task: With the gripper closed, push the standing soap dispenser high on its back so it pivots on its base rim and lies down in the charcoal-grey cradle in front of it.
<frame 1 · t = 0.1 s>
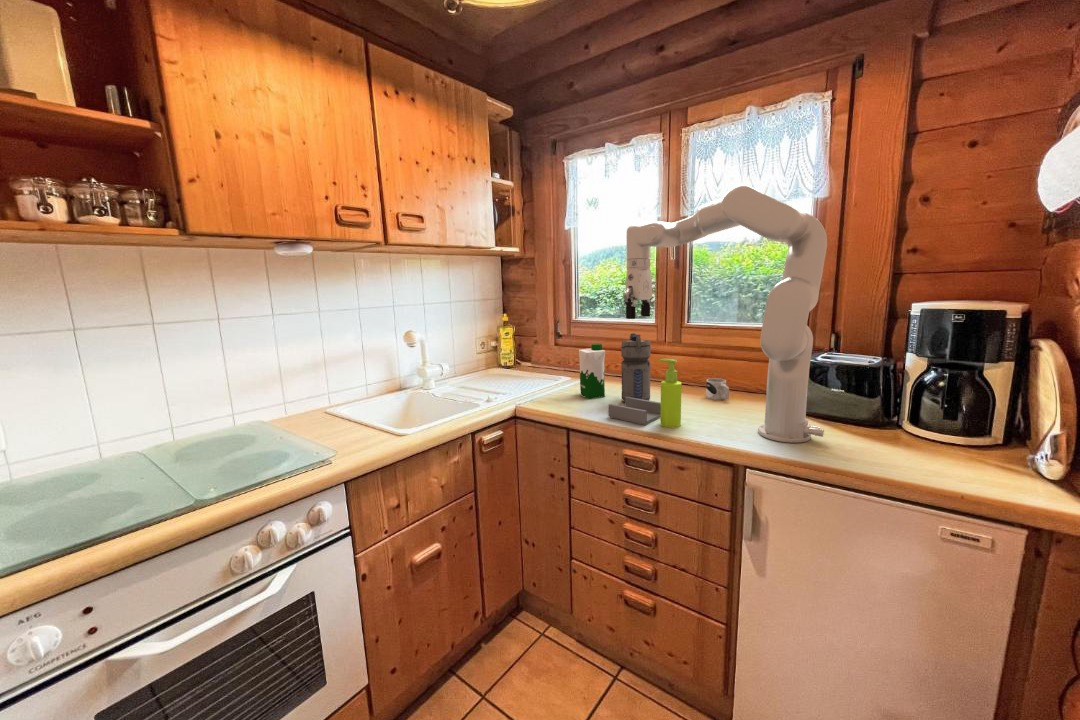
hand: (638, 317, 141), 31 cm above the countertop, tool pointing down, fingers open, 9 cm apart
beverage bottle: (635, 401, 156), on the countertop
soap dispenser: (668, 424, 130), on the countertop
cradle: (635, 417, 137), on the countertop
mug: (718, 399, 154), on the countertop
soya milk: (592, 396, 165), on the countertop
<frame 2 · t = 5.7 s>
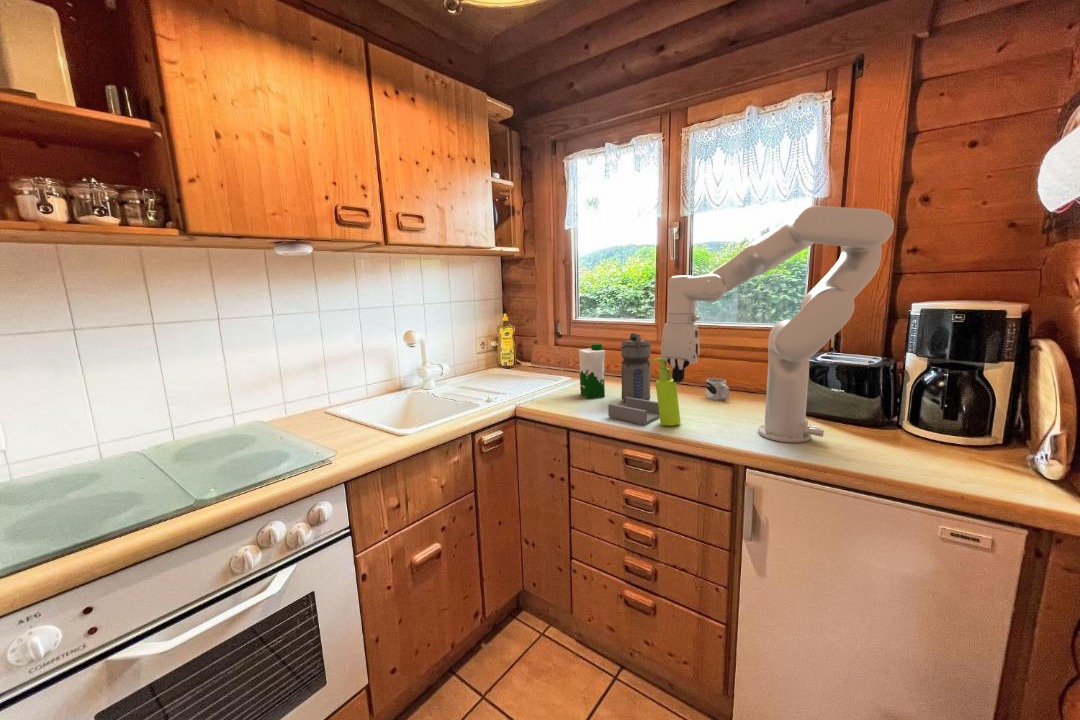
hand: (678, 381, 125), 14 cm above the countertop, tool pointing down, fingers closed
soap dispenser: (668, 423, 130), on the countertop, touching gripper
everything else where it was.
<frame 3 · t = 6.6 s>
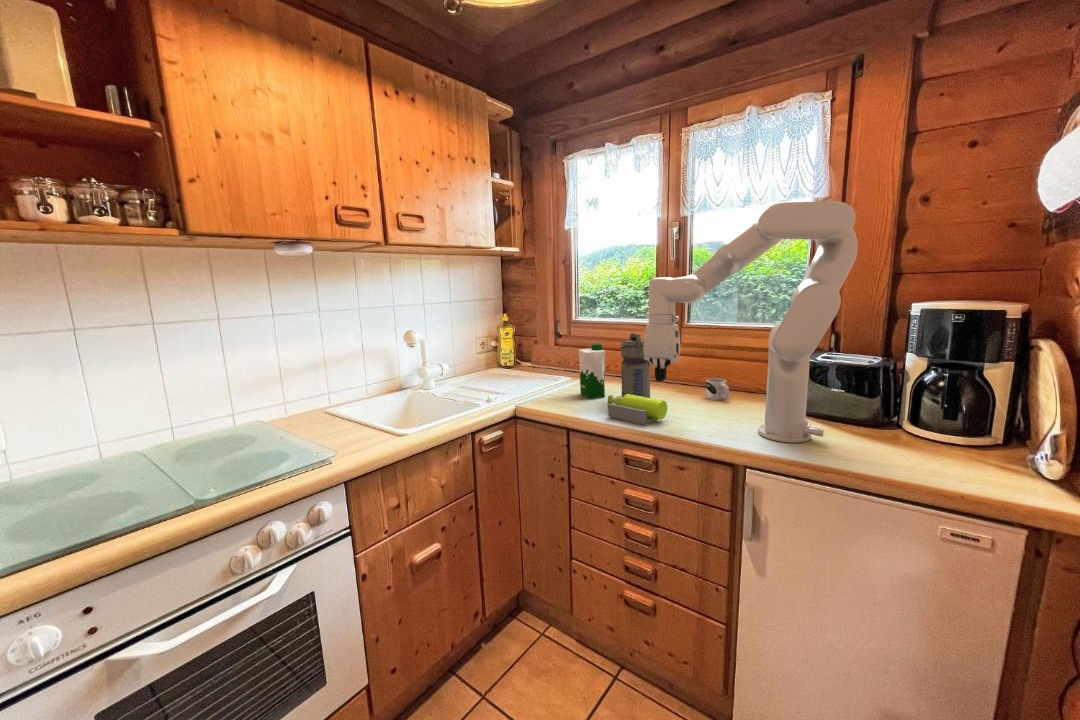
hand: (660, 380, 129), 13 cm above the countertop, tool pointing down, fingers closed
soap dispenser: (663, 411, 130), point 3 cm above the countertop, touching cradle
everything else where it was.
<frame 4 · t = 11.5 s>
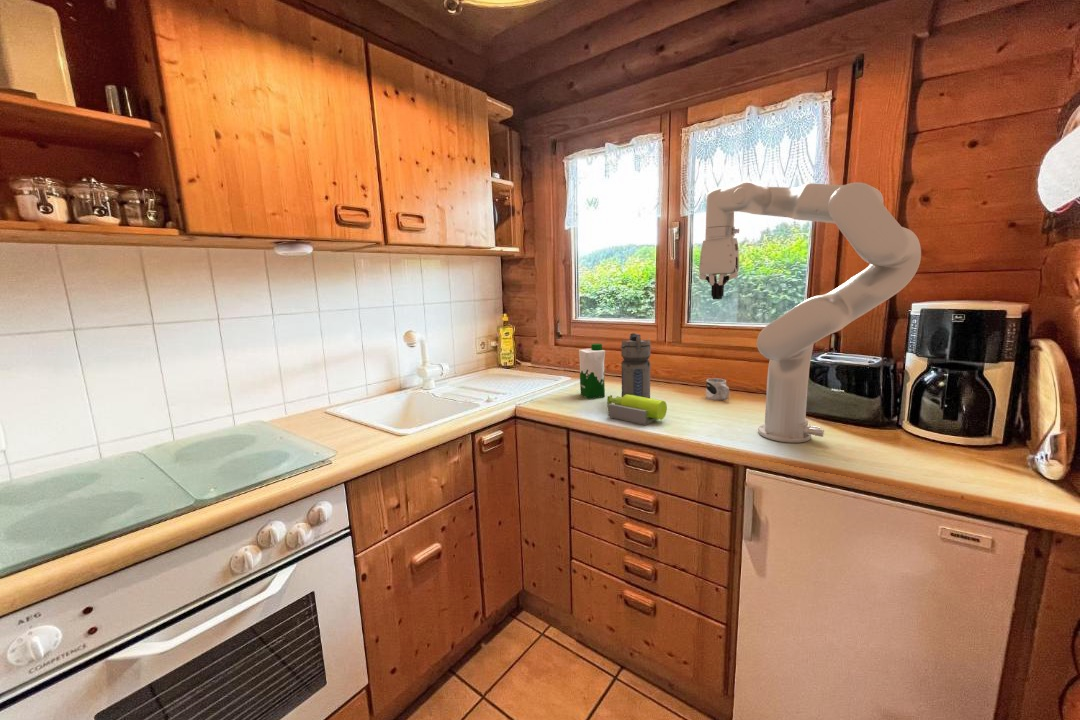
hand: (717, 298, 125), 37 cm above the countertop, tool pointing down, fingers closed
nothing on the countertop moved.
at the end: soap dispenser tilted 90°; soap dispenser touching cradle, countertop; soap dispenser inside the target area on the cradle (2.5 cm from its centre), point 3.4 cm above the cradle's base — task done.
